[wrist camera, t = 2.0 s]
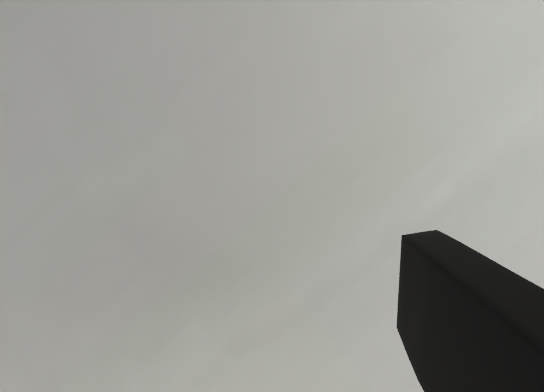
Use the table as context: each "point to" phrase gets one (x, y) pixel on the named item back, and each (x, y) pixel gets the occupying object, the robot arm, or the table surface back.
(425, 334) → the robot arm
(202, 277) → the table surface
